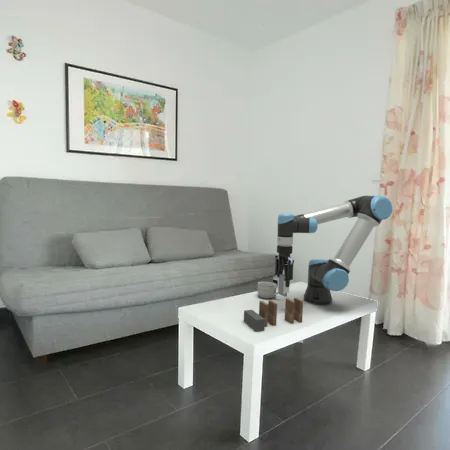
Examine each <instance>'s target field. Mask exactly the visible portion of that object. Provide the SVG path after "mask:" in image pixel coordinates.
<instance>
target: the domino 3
mask: <svg viewBox="0 0 450 450" xmlns="http://www.w3.org/2000/svg"><path fill="white" fill-rule="evenodd" d="M284 279H285V274H284V273H283V274H280V280H279V294H278V295H280V296H282V297H284V298H285V297H288V293H285V294H284V293H283V291H284Z"/></svg>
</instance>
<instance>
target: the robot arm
mask: <svg viewBox="0 0 450 450" xmlns="http://www.w3.org/2000/svg"><path fill="white" fill-rule="evenodd" d="M392 213H393V204H392V202H391V200H390V199H389V198H388V197H386V196H383V195H380V194H378V195H361V196H358V197H355V198H351V199H348V200H345V201H344V202H343V203H340V204H336V205H332V206H328V207H324V208H321V209H317V210H313V211H309V212H304V213H302V214H296V215H294V214H293V213H279V214H278V216H277V239H276V241H277V242H276V244H277V245H276V254H277V253H278V254H277V255H275V271H274V275H276V277H277V286H278V288H276V291H278V290H279V280H280V274H284V275H285V279H284V291H283V293H284V294H285V293H287V294H289V293H290V286H291V285H290V281H292V280H293V278H294V263H295V260H294V259H291V255H292V254H293V248H294V247H293V244H294V234H315V233H316V232H317V230H318V225H321V224H326V223H329V222H332V221H337V220H341V219H344V218H349V219H350V218H351V219H352V218H357V220H356V221H355V223H354V225H353V226H352V228H351V229H350V231H349V233H348V234H347V236H346V237H345V239H344V240H343V242H342V244H341V246H340V247H339V249H338V250H337V251H336V254H335V255H334V256H333V257H332V258H329V259H316V258H315V259H310V260H309V262H308V266H307V267H308V271H307V286H306V289H305V291H304V294H303V302H305V303H309V304H312V305H319V306H325V305H326V306H327V305H332V303H333V297H332V294H331V291H332V292H341V291H342V290H344V289H345V288H346V287H348V284H349V282H350V279H349V275H350V272H351V269H350V266H351V265H352V264H353V261H354V260H355V258H356V256H357V255H358V254H359V252H360V250H361V249H362V247H363V246H364V244H365V242H366V241H367V239H368V237H369V236H370V234H371V232H372V231H373V229H374V228H375V227H379V226H380V224H381V223H382V221H384V220H387V219H389V218H390V217H391V215H392Z"/></svg>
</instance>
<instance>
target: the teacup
mask: <svg viewBox="0 0 450 450" xmlns="http://www.w3.org/2000/svg"><path fill="white" fill-rule="evenodd" d="M277 288H278V283H275V282H271V281H258V282H257V295H258V296H259V297H260V298H261V299H268V300H270V299H273V298H274V297H276V296H277V295H280V294H279V290H277Z"/></svg>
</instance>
